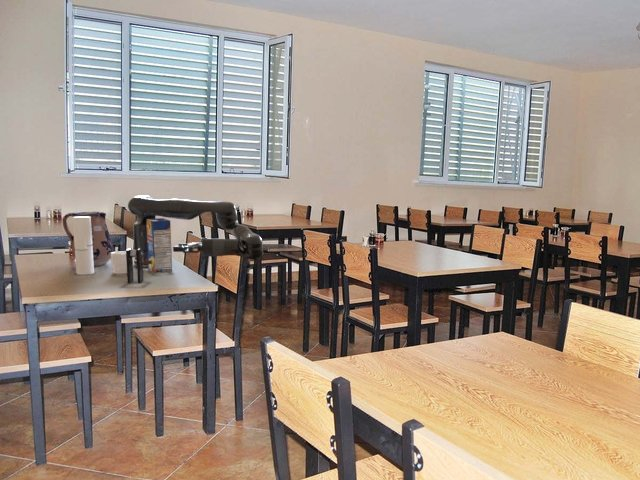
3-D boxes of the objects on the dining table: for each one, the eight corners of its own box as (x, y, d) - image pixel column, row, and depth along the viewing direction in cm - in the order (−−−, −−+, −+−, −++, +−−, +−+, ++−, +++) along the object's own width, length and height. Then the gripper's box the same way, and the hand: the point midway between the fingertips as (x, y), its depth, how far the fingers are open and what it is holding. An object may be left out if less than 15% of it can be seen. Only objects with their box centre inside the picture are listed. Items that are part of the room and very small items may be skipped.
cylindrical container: (97, 272, 289) (94, 216, 285) (83, 275, 283) (79, 218, 279) (87, 271, 293) (83, 215, 289) (72, 273, 287) (68, 217, 282)
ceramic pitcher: (112, 267, 303) (109, 214, 299) (62, 269, 297) (58, 214, 292) (115, 261, 320) (112, 210, 315) (68, 263, 313) (64, 211, 309)
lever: (134, 265, 274) (135, 259, 275) (151, 265, 275) (152, 259, 275) (123, 255, 261) (124, 249, 261) (141, 255, 261) (142, 249, 262)
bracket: (129, 282, 269) (127, 247, 267) (149, 282, 270) (147, 247, 268) (121, 287, 260) (119, 251, 257) (142, 287, 260) (140, 251, 258)
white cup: (134, 273, 289) (133, 251, 287) (125, 277, 281) (124, 254, 279) (117, 273, 290) (116, 251, 288) (108, 276, 282) (106, 253, 280)
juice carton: (148, 271, 295) (146, 218, 291) (165, 270, 299) (163, 218, 295) (155, 275, 286) (152, 221, 281) (172, 274, 290) (170, 220, 286)
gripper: (212, 258, 269) (171, 259, 268) (218, 253, 283) (180, 253, 282) (211, 240, 268) (171, 240, 266) (217, 236, 282) (179, 236, 280)
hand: (176, 247), depth 274 cm, fingers open, 8 cm apart
